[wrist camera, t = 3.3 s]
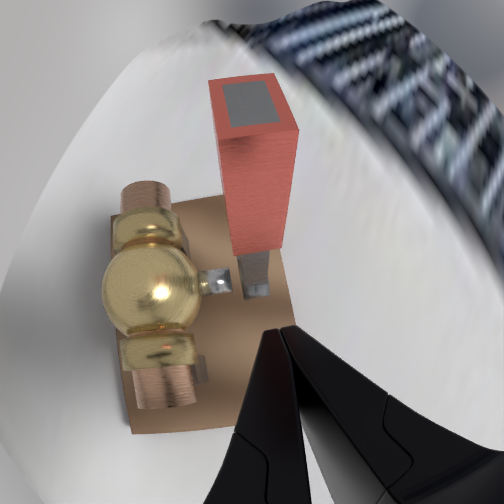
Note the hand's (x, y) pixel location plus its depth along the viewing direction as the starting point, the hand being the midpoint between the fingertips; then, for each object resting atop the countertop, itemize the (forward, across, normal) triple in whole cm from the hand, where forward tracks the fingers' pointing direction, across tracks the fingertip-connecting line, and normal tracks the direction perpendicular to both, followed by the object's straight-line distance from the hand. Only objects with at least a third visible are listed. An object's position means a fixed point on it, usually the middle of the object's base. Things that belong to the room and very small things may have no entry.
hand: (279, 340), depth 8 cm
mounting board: (+12, +3, +7) cm, 14 cm away
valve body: (+11, +4, +6) cm, 14 cm away
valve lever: (+8, 0, +3) cm, 8 cm away
